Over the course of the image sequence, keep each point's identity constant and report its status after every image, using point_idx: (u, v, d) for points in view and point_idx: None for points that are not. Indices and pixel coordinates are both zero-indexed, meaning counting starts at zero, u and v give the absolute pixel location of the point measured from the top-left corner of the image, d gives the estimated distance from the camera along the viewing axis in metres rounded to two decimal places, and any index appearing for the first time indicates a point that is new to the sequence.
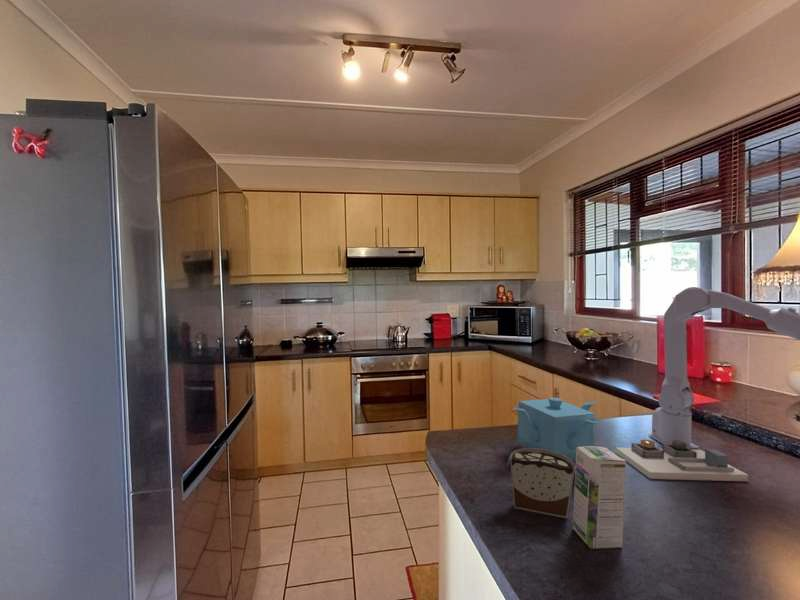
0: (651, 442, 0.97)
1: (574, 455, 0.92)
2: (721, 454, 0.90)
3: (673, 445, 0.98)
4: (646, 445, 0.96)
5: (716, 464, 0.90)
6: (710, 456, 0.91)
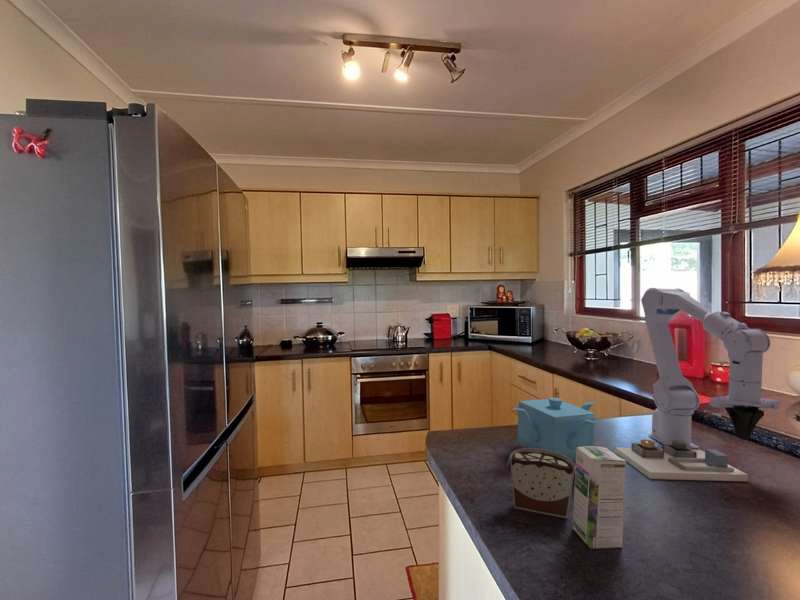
0: (651, 442, 0.97)
1: (574, 455, 0.92)
2: (721, 454, 0.90)
3: (673, 445, 0.98)
4: (646, 445, 0.96)
5: (716, 464, 0.90)
6: (710, 456, 0.91)
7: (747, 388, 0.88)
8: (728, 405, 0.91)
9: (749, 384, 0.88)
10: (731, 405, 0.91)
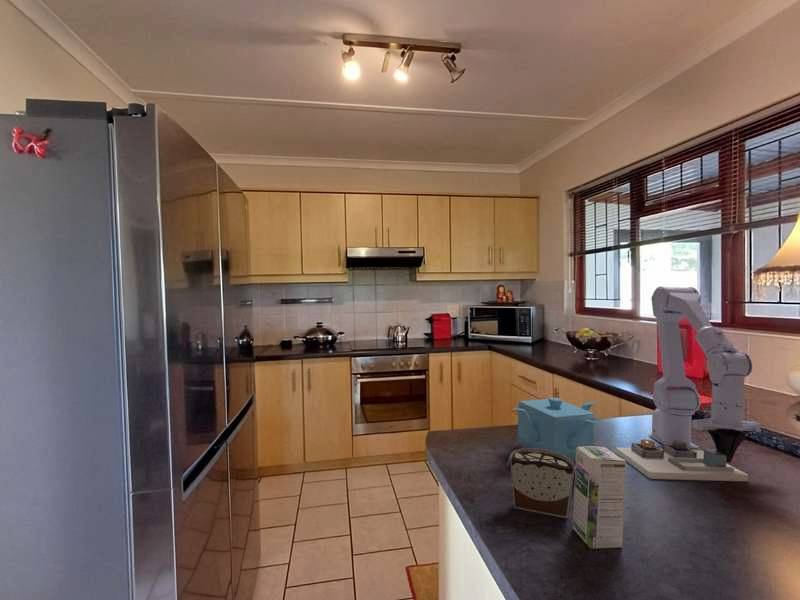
0: (651, 442, 0.97)
1: (574, 455, 0.92)
2: (720, 454, 0.90)
3: (673, 445, 0.98)
4: (646, 445, 0.96)
5: (715, 464, 0.90)
6: (709, 456, 0.91)
7: (729, 412, 0.88)
8: (710, 428, 0.91)
9: (731, 407, 0.88)
10: (713, 428, 0.91)
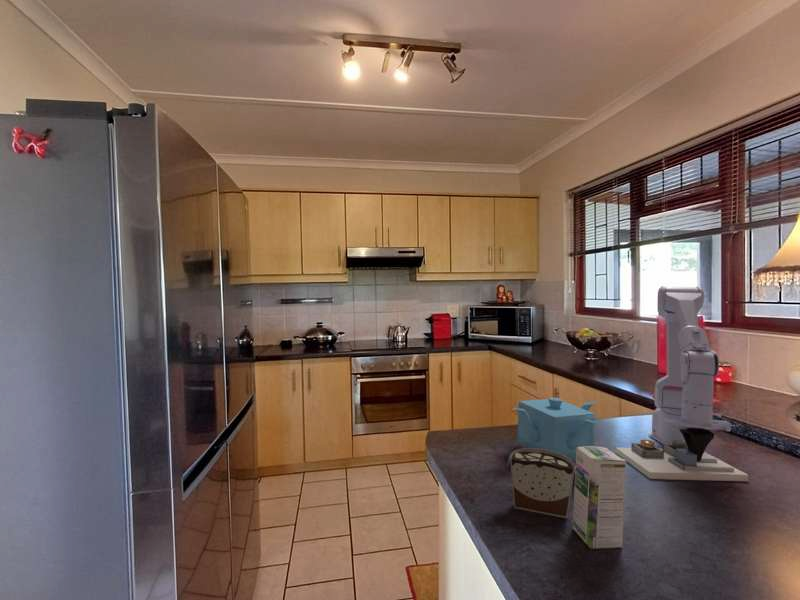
0: (651, 442, 0.97)
1: (574, 455, 0.92)
2: (690, 453, 0.90)
3: (673, 445, 0.98)
4: (646, 445, 0.96)
5: (685, 463, 0.90)
6: (680, 456, 0.91)
7: (698, 411, 0.88)
8: (680, 427, 0.91)
9: (700, 406, 0.88)
10: (683, 427, 0.91)
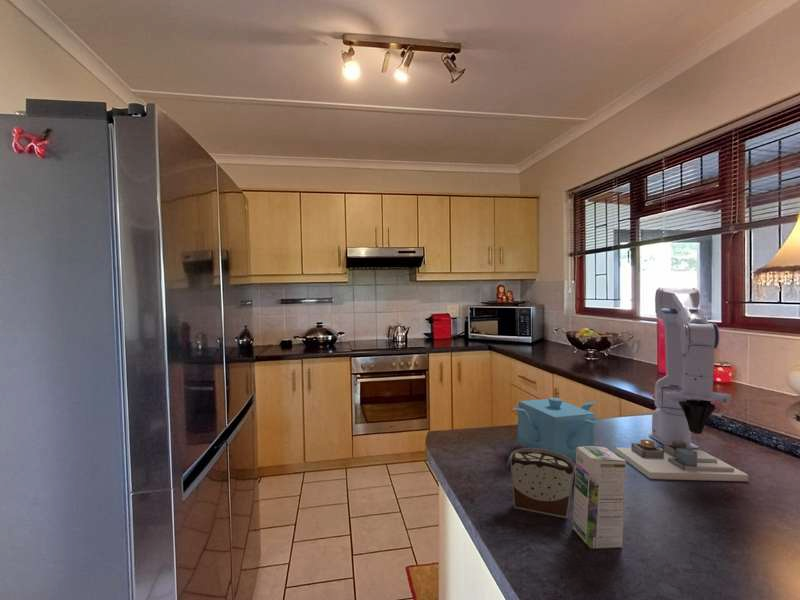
0: (651, 442, 0.97)
1: (574, 455, 0.92)
2: (691, 453, 0.90)
3: (673, 445, 0.98)
4: (646, 445, 0.96)
5: (685, 463, 0.90)
6: (680, 456, 0.91)
7: (698, 382, 0.88)
8: (680, 399, 0.91)
9: (700, 378, 0.88)
10: (683, 399, 0.91)
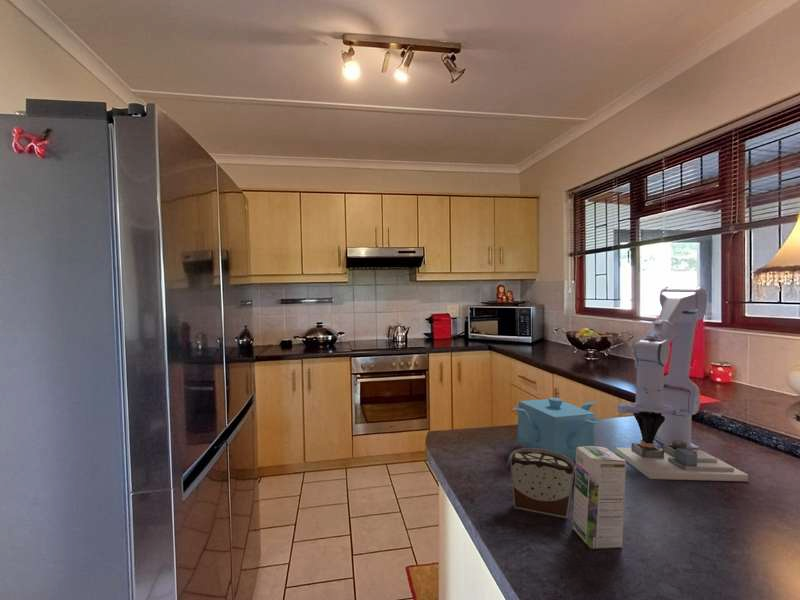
0: None
1: (574, 455, 0.92)
2: (691, 453, 0.90)
3: (673, 445, 0.98)
4: (646, 445, 0.96)
5: (685, 463, 0.90)
6: (680, 456, 0.91)
7: (649, 396, 0.95)
8: (633, 411, 0.97)
9: (651, 392, 0.95)
10: (636, 411, 0.97)
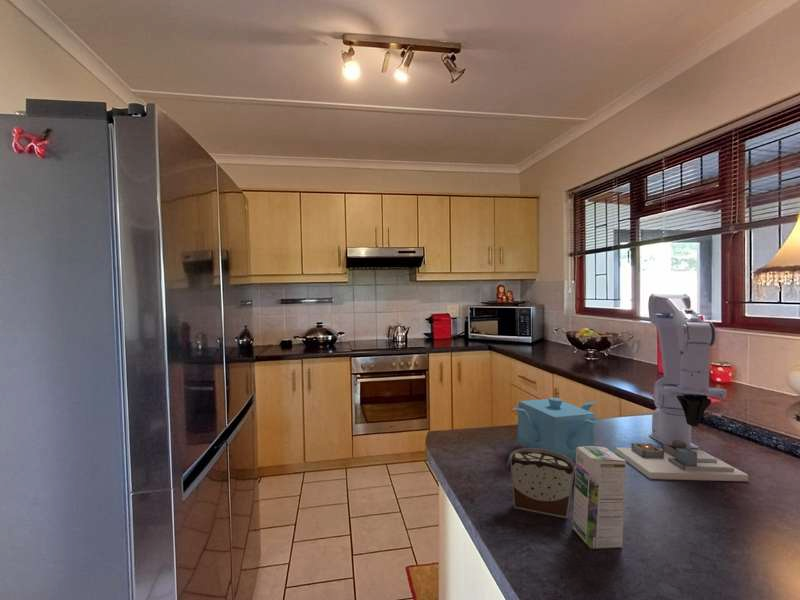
0: (651, 446, 0.97)
1: (574, 455, 0.92)
2: (691, 453, 0.90)
3: (673, 445, 0.98)
4: (646, 449, 0.96)
5: (685, 463, 0.90)
6: (680, 456, 0.91)
7: (695, 378, 0.94)
8: (678, 394, 0.96)
9: (697, 374, 0.94)
10: (681, 394, 0.96)
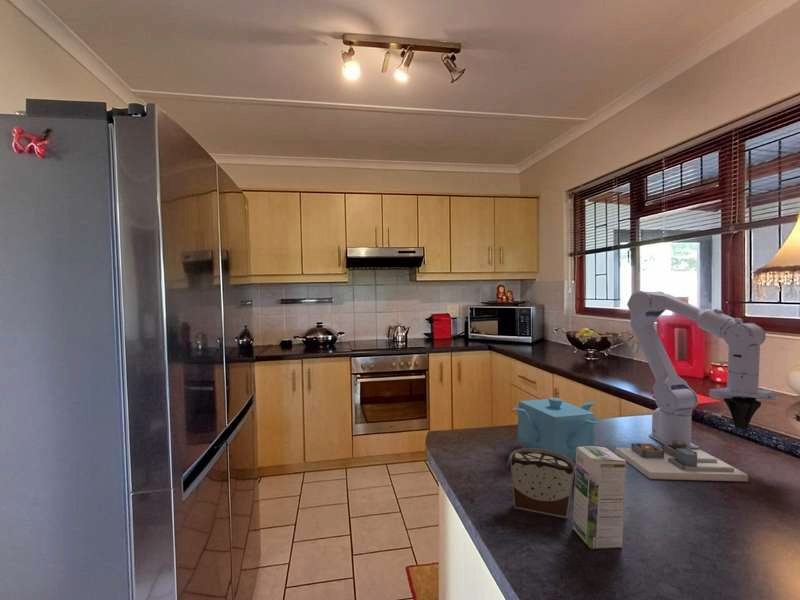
0: (651, 446, 0.97)
1: (574, 455, 0.92)
2: (691, 453, 0.90)
3: (673, 445, 0.98)
4: (646, 449, 0.96)
5: (685, 463, 0.90)
6: (680, 456, 0.91)
7: (745, 380, 0.92)
8: (727, 396, 0.95)
9: (747, 376, 0.92)
10: (729, 396, 0.95)
